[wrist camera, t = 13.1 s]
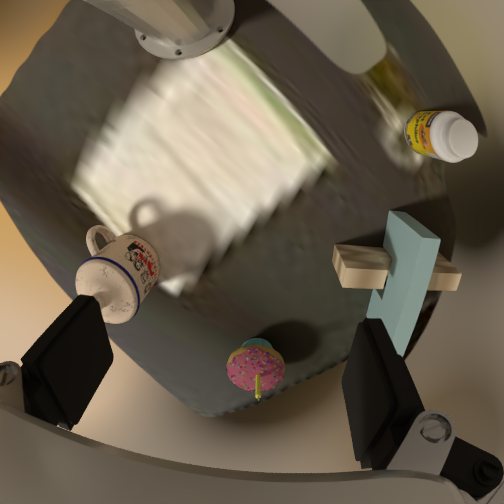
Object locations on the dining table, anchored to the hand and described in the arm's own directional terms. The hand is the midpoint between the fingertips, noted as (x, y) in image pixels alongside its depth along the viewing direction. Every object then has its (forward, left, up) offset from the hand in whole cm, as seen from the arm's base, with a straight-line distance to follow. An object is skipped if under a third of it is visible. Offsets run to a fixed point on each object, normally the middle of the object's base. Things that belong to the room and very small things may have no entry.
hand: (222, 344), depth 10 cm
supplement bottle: (-9, +20, -28) cm, 36 cm away
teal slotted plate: (+10, +18, -28) cm, 35 cm away
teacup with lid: (+10, -18, -28) cm, 35 cm away
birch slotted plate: (+8, +18, -28) cm, 34 cm away
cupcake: (+25, +1, -28) cm, 38 cm away
